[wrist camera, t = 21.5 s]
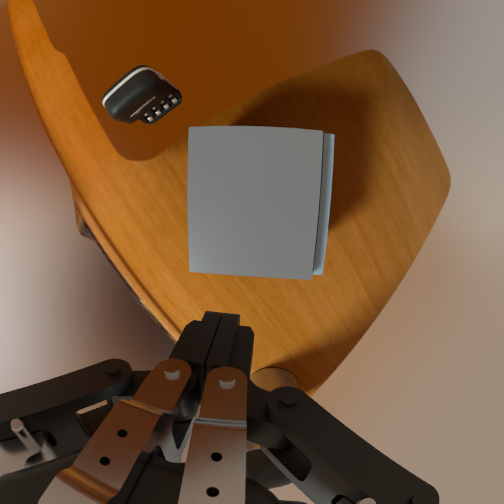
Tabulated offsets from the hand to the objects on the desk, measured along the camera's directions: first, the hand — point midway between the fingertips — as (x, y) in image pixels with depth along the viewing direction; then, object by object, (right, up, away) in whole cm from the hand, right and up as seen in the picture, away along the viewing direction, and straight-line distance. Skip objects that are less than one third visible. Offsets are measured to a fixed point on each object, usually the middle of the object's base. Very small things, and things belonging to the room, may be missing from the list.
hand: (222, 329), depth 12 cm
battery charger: (-11, +24, +21) cm, 34 cm away
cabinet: (+2, +12, +24) cm, 27 cm away
